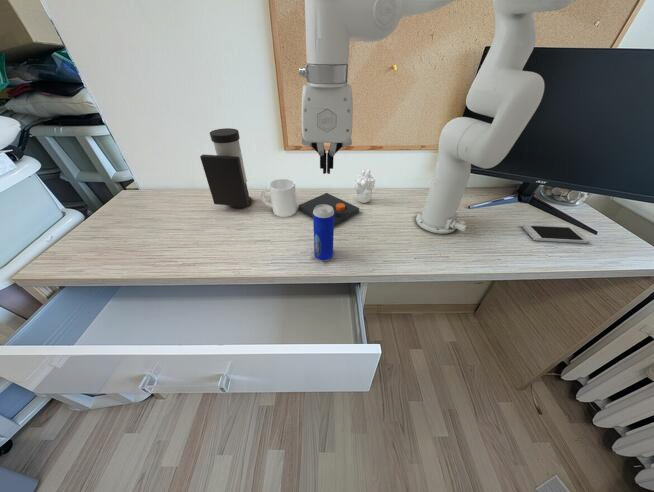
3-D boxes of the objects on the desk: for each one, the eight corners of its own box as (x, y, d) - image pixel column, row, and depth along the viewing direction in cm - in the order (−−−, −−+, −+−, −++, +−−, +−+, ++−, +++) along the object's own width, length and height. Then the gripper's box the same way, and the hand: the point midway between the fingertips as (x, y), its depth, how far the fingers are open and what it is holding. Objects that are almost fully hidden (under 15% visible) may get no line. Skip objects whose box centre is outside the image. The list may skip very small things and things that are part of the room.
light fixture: (260, 199, 97) (248, 129, 81) (248, 214, 88) (232, 139, 73) (230, 196, 98) (212, 127, 83) (216, 211, 90) (193, 137, 74)
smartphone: (522, 227, 83) (523, 224, 82) (572, 229, 82) (573, 227, 81) (534, 240, 77) (535, 238, 77) (588, 243, 76) (590, 240, 76)
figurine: (363, 208, 92) (366, 176, 84) (349, 201, 96) (351, 170, 88) (375, 202, 96) (379, 170, 88) (361, 195, 99) (364, 165, 92)
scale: (359, 213, 89) (360, 204, 87) (331, 229, 81) (332, 219, 79) (326, 197, 98) (326, 188, 96) (298, 210, 90) (297, 201, 88)
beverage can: (312, 252, 72) (310, 205, 63) (329, 248, 74) (330, 202, 64) (317, 263, 69) (316, 215, 59) (335, 260, 70) (337, 212, 60)
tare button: (346, 209, 85) (346, 205, 84) (340, 212, 83) (340, 208, 82) (340, 206, 87) (340, 202, 86) (333, 209, 85) (334, 205, 84)
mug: (259, 216, 87) (254, 188, 81) (267, 204, 94) (262, 177, 87) (294, 218, 86) (291, 190, 80) (299, 206, 93) (297, 179, 86)
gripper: (284, 77, 45) (292, 177, 56) (370, 78, 44) (360, 178, 56) (289, 73, 50) (295, 165, 62) (365, 74, 50) (357, 165, 62)
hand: (326, 171), depth 59 cm, fingers closed
